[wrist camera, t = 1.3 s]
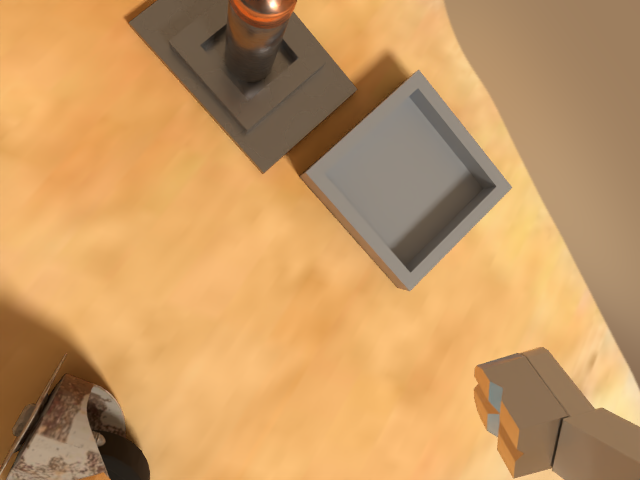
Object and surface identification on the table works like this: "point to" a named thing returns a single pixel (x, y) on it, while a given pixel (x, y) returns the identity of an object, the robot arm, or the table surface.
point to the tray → (407, 182)
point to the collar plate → (240, 96)
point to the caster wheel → (74, 436)
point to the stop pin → (255, 36)
